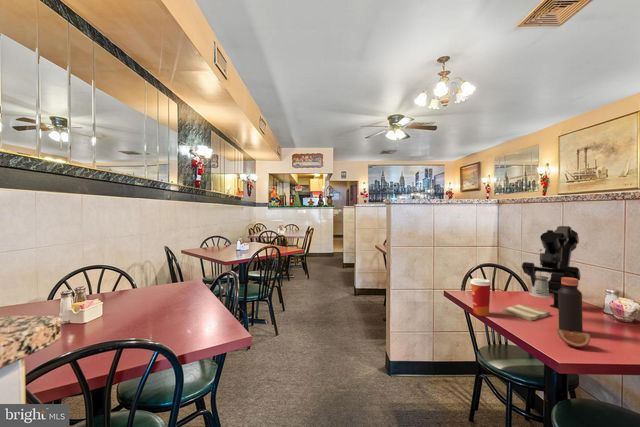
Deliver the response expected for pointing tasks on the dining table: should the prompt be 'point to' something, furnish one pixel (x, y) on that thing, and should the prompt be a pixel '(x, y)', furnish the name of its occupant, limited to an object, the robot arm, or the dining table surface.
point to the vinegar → (570, 305)
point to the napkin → (525, 312)
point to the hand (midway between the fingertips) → (546, 288)
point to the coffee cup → (480, 296)
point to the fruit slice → (574, 338)
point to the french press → (543, 283)
